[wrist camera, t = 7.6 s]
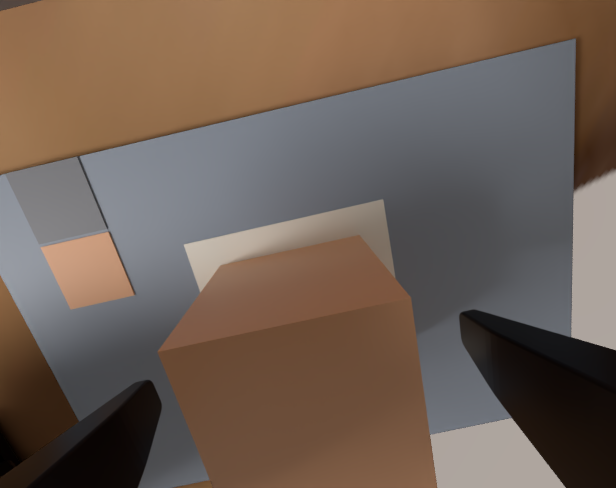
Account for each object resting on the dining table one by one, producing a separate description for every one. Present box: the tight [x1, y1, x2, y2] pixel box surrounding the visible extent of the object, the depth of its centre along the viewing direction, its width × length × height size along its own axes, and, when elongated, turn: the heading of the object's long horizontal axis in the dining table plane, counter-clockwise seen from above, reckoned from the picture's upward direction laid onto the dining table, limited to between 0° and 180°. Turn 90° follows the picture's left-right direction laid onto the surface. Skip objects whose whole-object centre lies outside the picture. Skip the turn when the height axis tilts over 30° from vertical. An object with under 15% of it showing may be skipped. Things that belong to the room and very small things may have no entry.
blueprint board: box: [0, 39, 576, 488], centre depth 12 cm, size 20×14×1 cm
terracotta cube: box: [158, 235, 437, 488], centre depth 9 cm, size 5×5×5 cm
